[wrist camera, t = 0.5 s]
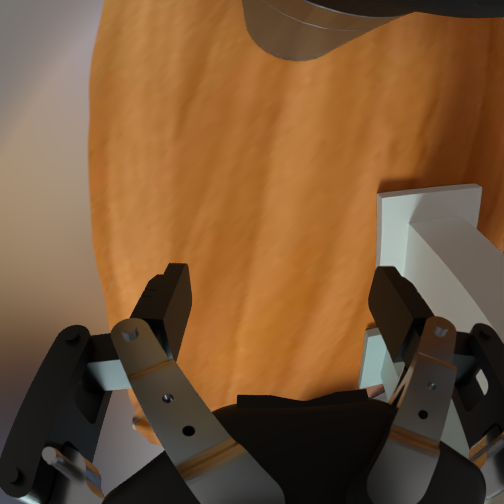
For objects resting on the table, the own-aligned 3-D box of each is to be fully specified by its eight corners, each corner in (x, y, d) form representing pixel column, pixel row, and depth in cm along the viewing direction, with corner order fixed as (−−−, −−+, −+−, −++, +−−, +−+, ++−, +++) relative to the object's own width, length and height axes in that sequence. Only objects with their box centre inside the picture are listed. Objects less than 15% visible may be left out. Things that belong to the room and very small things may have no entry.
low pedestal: (358, 382, 47) (385, 519, 23) (365, 330, 40) (414, 509, 16) (427, 364, 45) (470, 485, 21) (447, 309, 38) (519, 455, 14)
